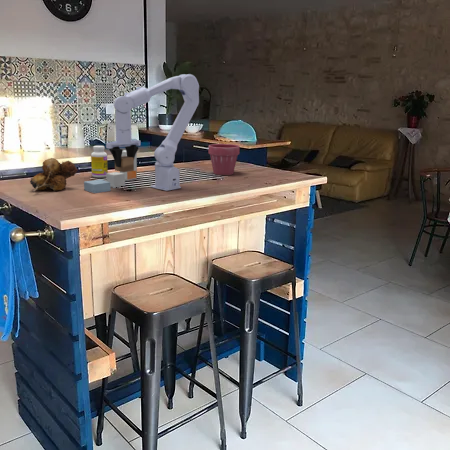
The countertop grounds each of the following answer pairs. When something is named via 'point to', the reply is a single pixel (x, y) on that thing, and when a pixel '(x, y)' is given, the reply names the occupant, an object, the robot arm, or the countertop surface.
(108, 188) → the base block
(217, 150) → the plant pot
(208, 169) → the countertop surface
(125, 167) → the walnut block
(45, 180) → the seed pod
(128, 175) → the skincare box
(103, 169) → the supplement bottle
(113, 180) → the grey block
